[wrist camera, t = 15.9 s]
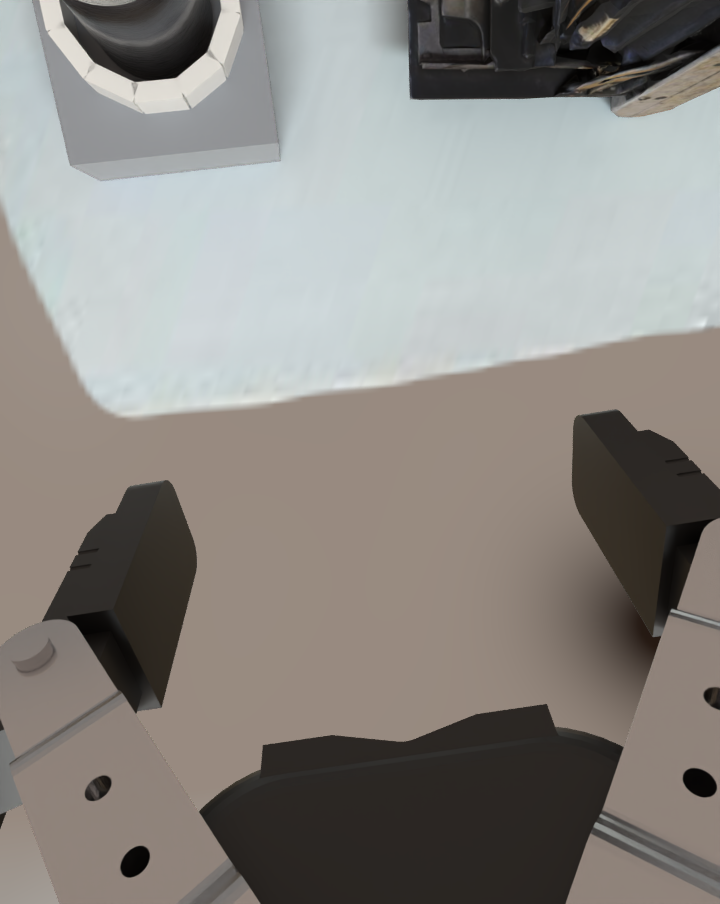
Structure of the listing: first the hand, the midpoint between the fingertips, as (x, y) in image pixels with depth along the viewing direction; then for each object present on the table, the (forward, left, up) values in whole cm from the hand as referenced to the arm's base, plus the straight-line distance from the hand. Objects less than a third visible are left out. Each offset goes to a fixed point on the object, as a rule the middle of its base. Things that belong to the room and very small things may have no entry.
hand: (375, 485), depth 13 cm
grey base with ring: (+6, -17, -27) cm, 32 cm away
